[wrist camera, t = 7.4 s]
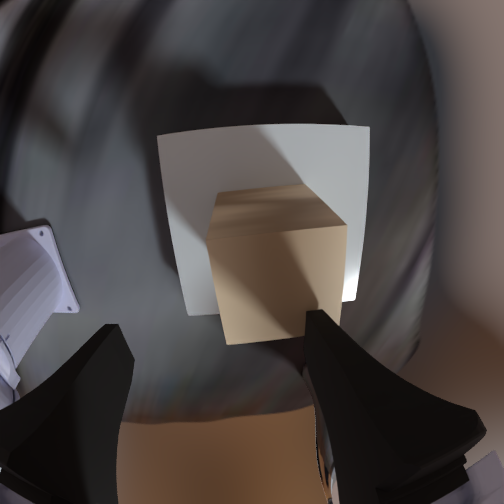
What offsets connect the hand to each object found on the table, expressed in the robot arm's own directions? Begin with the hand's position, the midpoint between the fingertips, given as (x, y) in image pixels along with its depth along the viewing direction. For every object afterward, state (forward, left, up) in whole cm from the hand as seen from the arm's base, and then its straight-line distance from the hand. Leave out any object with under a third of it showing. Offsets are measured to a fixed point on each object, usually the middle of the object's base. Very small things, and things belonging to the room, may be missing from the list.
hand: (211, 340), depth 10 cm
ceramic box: (+3, +2, -10) cm, 10 cm away
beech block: (+3, +2, -6) cm, 7 cm away
